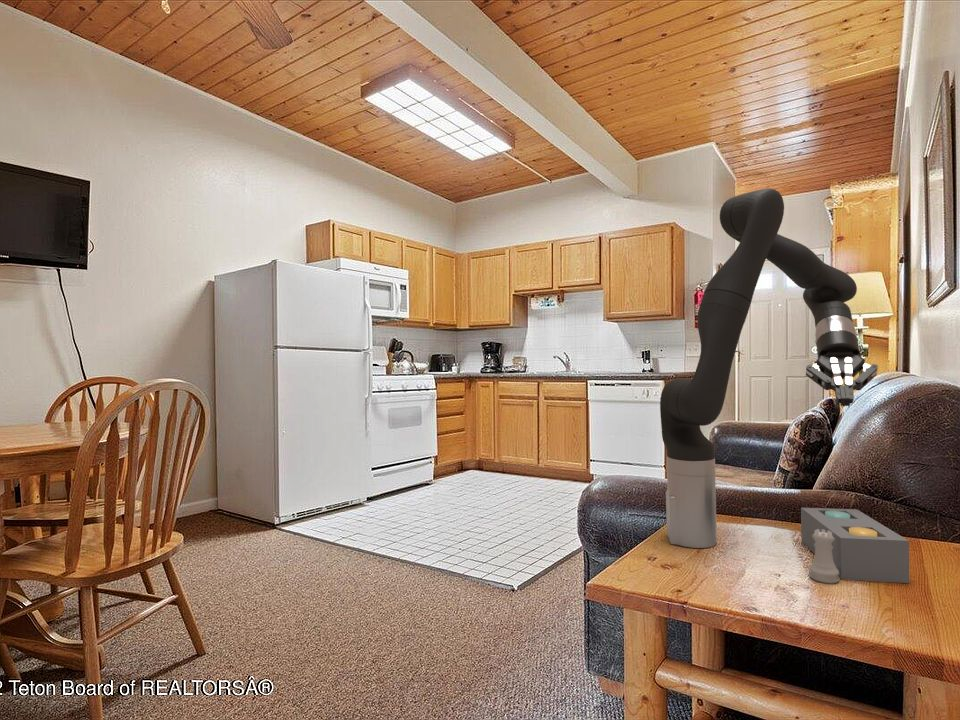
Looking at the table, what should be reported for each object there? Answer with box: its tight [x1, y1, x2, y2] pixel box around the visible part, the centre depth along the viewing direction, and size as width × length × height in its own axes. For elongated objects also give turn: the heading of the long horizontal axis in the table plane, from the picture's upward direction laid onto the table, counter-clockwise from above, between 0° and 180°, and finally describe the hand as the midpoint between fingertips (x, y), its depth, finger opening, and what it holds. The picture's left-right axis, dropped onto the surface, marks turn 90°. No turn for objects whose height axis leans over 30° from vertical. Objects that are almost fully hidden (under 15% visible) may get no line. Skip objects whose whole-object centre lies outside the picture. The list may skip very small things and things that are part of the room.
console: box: [800, 507, 911, 584], centre depth 99 cm, size 10×18×7 cm, turn 168°
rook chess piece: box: [808, 529, 841, 585], centre depth 91 cm, size 4×4×8 cm
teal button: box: [825, 511, 850, 519], centre depth 103 cm, size 4×4×4 cm
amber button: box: [849, 527, 877, 537], centre depth 94 cm, size 4×4×4 cm
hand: (845, 403), depth 106 cm, fingers closed
